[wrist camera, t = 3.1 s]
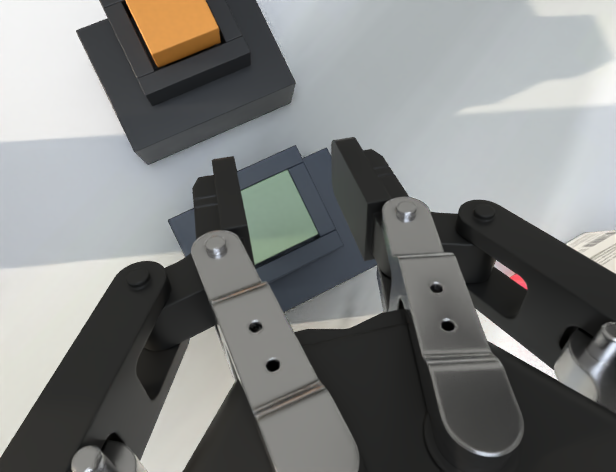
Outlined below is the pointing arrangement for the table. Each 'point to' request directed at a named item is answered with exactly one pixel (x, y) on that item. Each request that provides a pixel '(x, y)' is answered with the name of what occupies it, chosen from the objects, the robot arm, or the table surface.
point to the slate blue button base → (310, 253)
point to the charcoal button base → (188, 78)
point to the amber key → (174, 27)
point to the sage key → (276, 216)
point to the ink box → (591, 250)
